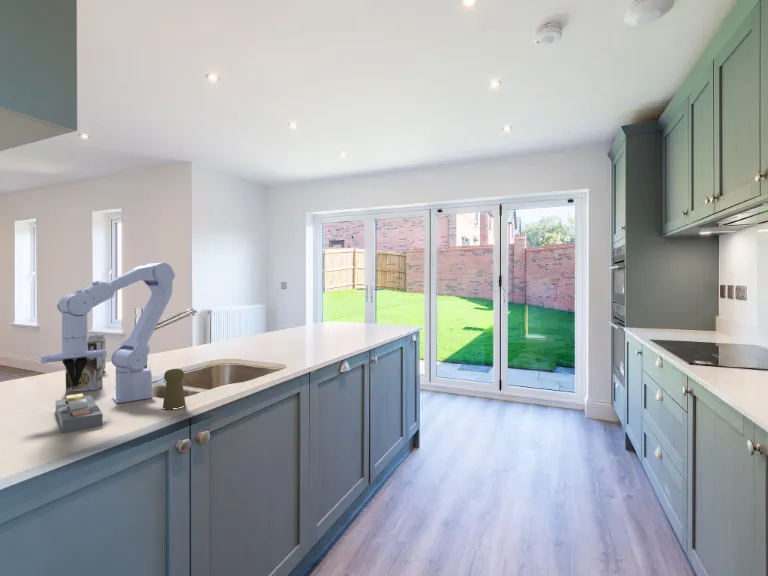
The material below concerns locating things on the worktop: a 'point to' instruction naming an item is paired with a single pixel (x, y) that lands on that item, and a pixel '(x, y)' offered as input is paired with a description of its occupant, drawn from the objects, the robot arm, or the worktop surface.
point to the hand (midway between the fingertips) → (75, 385)
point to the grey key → (77, 404)
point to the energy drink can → (101, 337)
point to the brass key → (74, 397)
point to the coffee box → (88, 372)
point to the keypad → (80, 421)
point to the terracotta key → (80, 412)
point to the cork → (174, 389)
